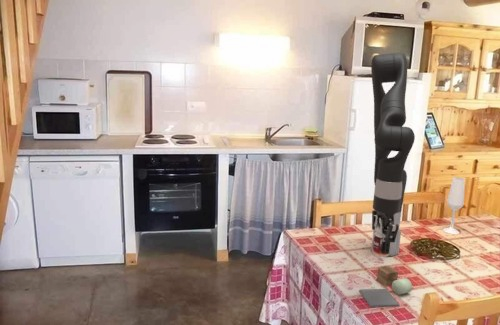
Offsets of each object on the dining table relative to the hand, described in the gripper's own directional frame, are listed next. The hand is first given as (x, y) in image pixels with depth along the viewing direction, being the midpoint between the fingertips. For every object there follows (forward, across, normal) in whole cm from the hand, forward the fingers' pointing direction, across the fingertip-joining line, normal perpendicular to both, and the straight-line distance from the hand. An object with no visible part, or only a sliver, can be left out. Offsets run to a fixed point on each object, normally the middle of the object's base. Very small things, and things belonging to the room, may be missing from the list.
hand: (381, 249), depth 126 cm
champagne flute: (+15, +54, -56) cm, 79 cm away
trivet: (+16, 0, -1) cm, 16 cm away
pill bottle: (+2, 0, 0) cm, 2 cm away
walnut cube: (+16, +10, -8) cm, 20 cm away
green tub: (+14, +2, -8) cm, 16 cm away
